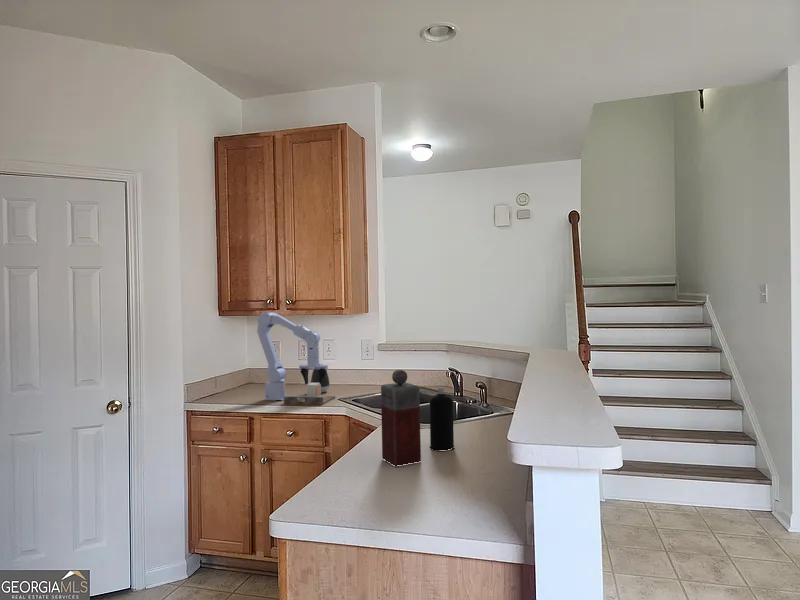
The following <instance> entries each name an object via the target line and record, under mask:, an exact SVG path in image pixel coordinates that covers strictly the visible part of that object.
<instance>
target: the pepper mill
mask: <svg viewBox="0 0 800 600" xmlns="http://www.w3.org/2000/svg"><path fill="white" fill-rule="evenodd" d="M391 378H392V381H393V383H386V384H385V383H384V384H382V385H381V386H380V403H381V404H380V406H381V407H380V408H381V409H380V410H381V452H382V454H381V455H382V456H381V457H382V458H383V459H385V460H386V461H388V462H390V463H391V464H393V465H395V466H397V465H403V464H408V463H414V462H419V461H421V462H422V453H421V452H422V449H421V447H422V445H421V444H422V443H421V410H420V409H421V401H420V400H421V399H420V394H421V393H420V386H418V385H417V384H416V385H415V384H413V383H410V382H409V383H408V382H407V380H408V373H407V372H406V371H404V370H402V369H396V370H395V371H394V372H392V375H391ZM382 458H381V459H382Z"/></svg>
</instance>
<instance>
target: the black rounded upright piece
mask: <svg viewBox="0 0 800 600" xmlns="http://www.w3.org/2000/svg"><path fill="white" fill-rule="evenodd" d="M319 365H324V364H322V363H319ZM318 370H320V369H312V373H311V378H310V383H319V372H318ZM330 385H331V384H330V377H329V375H328V371H326V373H325V375H324V378H323V383H322V384H321V394H323V392H324V393H326V392H327V391H328V390H329V387H330Z"/></svg>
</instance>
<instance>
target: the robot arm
mask: <svg viewBox="0 0 800 600" xmlns="http://www.w3.org/2000/svg"><path fill="white" fill-rule="evenodd" d="M257 322H258V324H257V328H256V332H257V335H258V338H259V340H260V345H261V347H262V351H263V353H264V356H265V359H266V361H267V364H268V365H267V373H268V374H267V378H268V380H269V381H267V382H265V386H264V401H276V400H282V401H284V396H286V384H285V383H286V380H285V378H286V377H287V376H288V375H287V374H288V373H287V370H286V369H285V368H284V366H283V364H282V363H281V362H280V361H279V358H278V355H277V352H276V349H275V346H274V343H273V340H272V338H271V335H270V331H271V329H272V327H273V326H274V325H280V326H282V327H285V328H286V329H288V330H290V331H292V332H293V335H294V336H296V337H298V338H300V339H301V340H303V341H305V343H306V347H307V348H306V352H307V353H306V355H307V356H306V357H307V360H306V361H307V364H300V365H298V367H299V368H298V370H299V371H300V373H301V375H302V378H303V381H304V384H305V385H308V384H309V370H314V369H320V370H318V372H319V383H320V384H322V383H323V378H324V375H325V373H326V371H327V370H328V369H329V365H328V364H327V365H325V364H323V365H319V364H320V351H319V350H320V347H319V343H320V340H321V336H320V334H319V333H318V332H317V331H313V330H312V329H308V328H307V327H305V325H304V324H297V325H296V324H295V323H293V322H292V321H291V320H289V319H287V318H285V317H283V316H281V314H278V313H276V312H273V311H271V312H262V313H261V314H259V316H258V318H257ZM327 372H328V371H327Z"/></svg>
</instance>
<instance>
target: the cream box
mask: <svg viewBox="0 0 800 600" xmlns="http://www.w3.org/2000/svg"><path fill="white" fill-rule="evenodd" d="M306 395H307V397H321V396H322V393H321V384H320V383H311V382H310V383H308V384H306Z"/></svg>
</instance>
